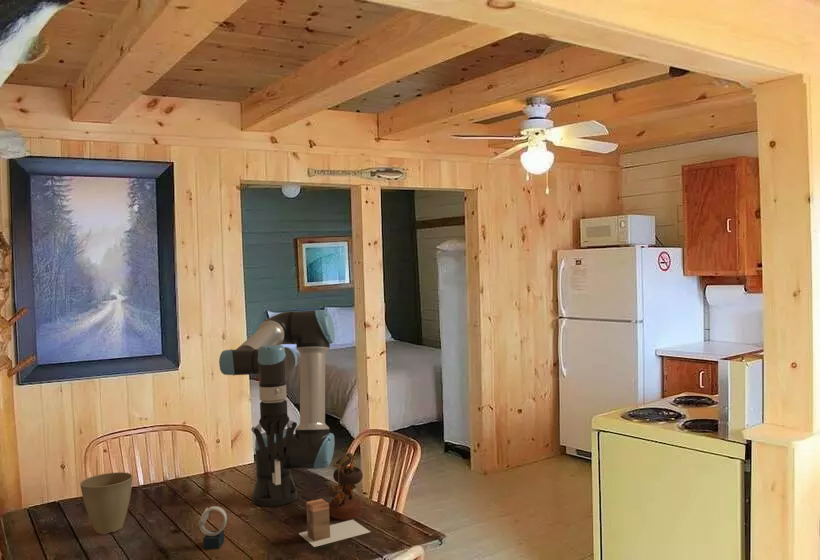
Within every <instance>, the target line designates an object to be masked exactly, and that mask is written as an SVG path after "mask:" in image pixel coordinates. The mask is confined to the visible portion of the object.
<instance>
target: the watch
mask: <svg viewBox="0 0 820 560" xmlns="http://www.w3.org/2000/svg"><path fill="white" fill-rule="evenodd" d="M212 511H216V512H218V513H220V514H221V515H222V517H223V521H222V523H221V527H220V528H219V529H218V530H208V529H206V527H205V525H204V524H205V523H206V521H207V520H208V518H209V516H210V515H211V512H212ZM227 523H228V515H227V513H226V510H225V509H223V508H222V507H221V506H218V505H216V506H215V505H213V506H209V508H208V507H206V508H205V510H204V511H203V512H202V514H201V516H200V518H199V520H198V525H199V526H198V527H199V529H200V531H201V533H202V534H204V535H205V536H204V537H203V541H202V542H203V550H219V549H220V548H221V547H222V545H223V544H224V542H225V530H224V529H225V527H226V526H227Z"/></svg>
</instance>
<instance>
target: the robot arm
mask: <svg viewBox="0 0 820 560" xmlns="http://www.w3.org/2000/svg"><path fill="white" fill-rule="evenodd" d="M335 339H336V334H335V325H334V321H333V317H332V315H331V314H330V312H329V311H327V310H315V309H314V310H299V311H297V310H296V311H295V310H294V311H290V310H289V311H288V310H287V311H284V312H279V313H277V314H274V315H273V316H271V317H269V318H267V319H265V320H264V321H263V322H261V323H260V324H259V326H258V327H257V330H256V332H254V333H253V334H252V335H251V336H250V337H249V338H248V339H246V340H245V341H243V343H241V345H239V346H238V347H237V348H235V349H230V348H229V349H225V350H222V351H221V353H220V355H219V360H218V363H219V371H220V372H221V374H223V375H225V376H246V375H247V376H248V375H258V383H259V385H258V387H259V388H258V389H259V393H258V394H259V400H260V402H259V412H260V413H259V415H260V416H259V417H260V418H259V420H258V424H256V426H252V427H251V429H250V430H251V432H252V433H253V434H254V436H255V440H254V441H255V447H254V451H255V453H254V454H255V471H256V472H255V473H256V481H255V483H254V487H253V490H252V494H251V495H252V496H251V498H252V501H251V503H253V504H254V505H256V506H259V507H276V506H277V507H278V506H283V505H286V504H290V503H292V502H294V501H296V499H298V490H297V487H296V484H295V481H294V479H293V477H292V470H305V469H306V470H319V469H320V470H321V469H326V468H328V467H329V466H330V465H331V462H332V460H333V456H334V451H335V444H336V443H335V435H334V433H332V432H330V427H329V426H328V424H326V354H327V352H328V351H330V345H331V344H334V343H335ZM284 345H295V346H296V347H295V349H296V350H297V351H298V353H299V354H300V377H299V378H300V381H299V382H300V388H299V389H300V390H299V392H300V393H299V394H300V396H299V399H300V400H299V408H300V409H299V424H297V422H295V421H294V420H291V419H290V417H289V415H288V401H287V396H288V395H287V376H286V375H287V374H289V373H290V372H292V371H293V370H294V368H295V367H296V366H297V364H298V355H297V353H296V350H294V349H292V348H291V347H289V346H284ZM263 431H264V432H263Z"/></svg>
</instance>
